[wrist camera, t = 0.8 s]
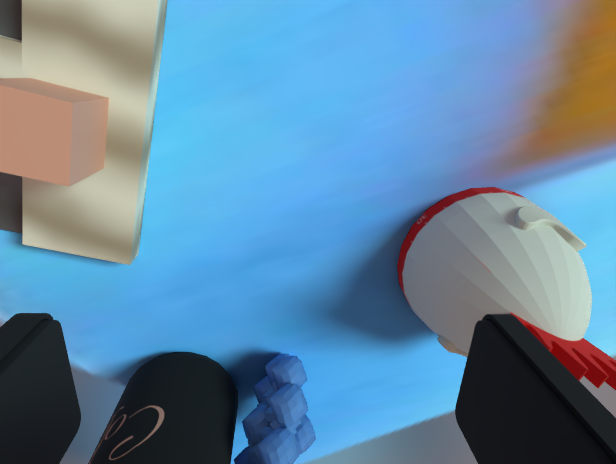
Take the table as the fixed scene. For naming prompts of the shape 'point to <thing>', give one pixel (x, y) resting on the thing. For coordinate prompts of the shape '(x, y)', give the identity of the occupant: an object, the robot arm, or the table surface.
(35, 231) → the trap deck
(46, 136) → the block
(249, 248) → the table surface
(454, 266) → the kitchen timer
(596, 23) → the table surface
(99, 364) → the table surface
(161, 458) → the coffee jar
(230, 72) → the table surface
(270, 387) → the grapes
